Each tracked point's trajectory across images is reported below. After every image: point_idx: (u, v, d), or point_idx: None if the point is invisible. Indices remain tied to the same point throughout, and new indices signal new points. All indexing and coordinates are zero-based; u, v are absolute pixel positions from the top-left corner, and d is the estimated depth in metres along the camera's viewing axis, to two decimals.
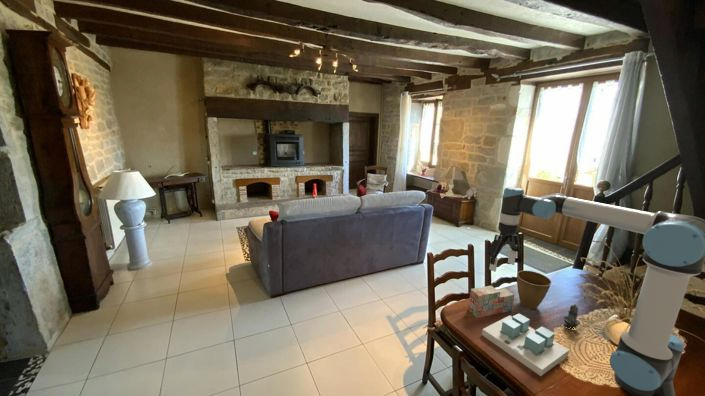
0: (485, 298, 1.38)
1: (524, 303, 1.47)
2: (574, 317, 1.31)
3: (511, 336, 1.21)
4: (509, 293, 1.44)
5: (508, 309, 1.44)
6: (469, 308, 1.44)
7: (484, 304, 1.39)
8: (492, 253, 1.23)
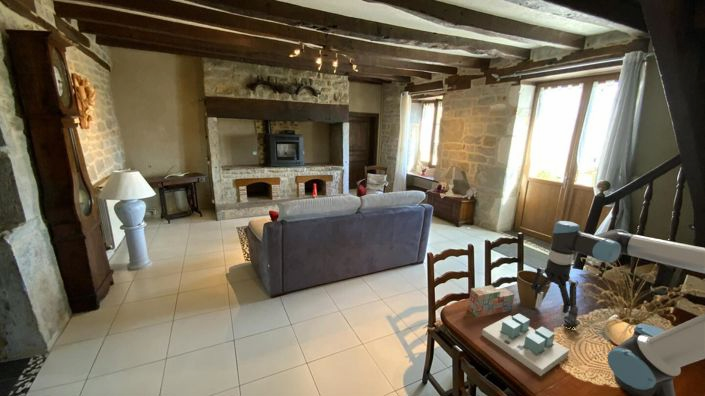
0: (485, 298, 1.38)
1: (524, 303, 1.47)
2: (574, 317, 1.31)
3: (511, 336, 1.21)
4: (509, 293, 1.44)
5: (508, 309, 1.44)
6: (469, 308, 1.44)
7: (484, 304, 1.39)
8: None
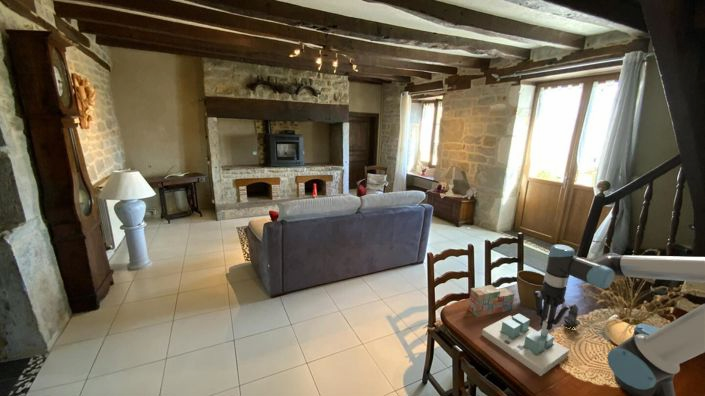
0: (485, 298, 1.39)
1: (524, 303, 1.47)
2: (574, 317, 1.31)
3: (511, 336, 1.21)
4: (509, 292, 1.45)
5: (508, 308, 1.45)
6: (469, 307, 1.45)
7: (485, 304, 1.40)
8: None
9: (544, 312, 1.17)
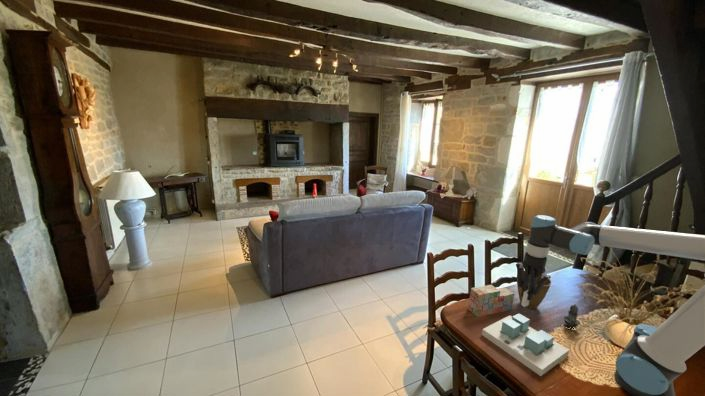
0: (485, 297, 1.39)
1: None
2: (574, 317, 1.31)
3: (511, 336, 1.21)
4: (509, 292, 1.45)
5: (508, 308, 1.45)
6: (469, 307, 1.45)
7: (485, 303, 1.40)
8: None
9: (525, 283, 1.18)
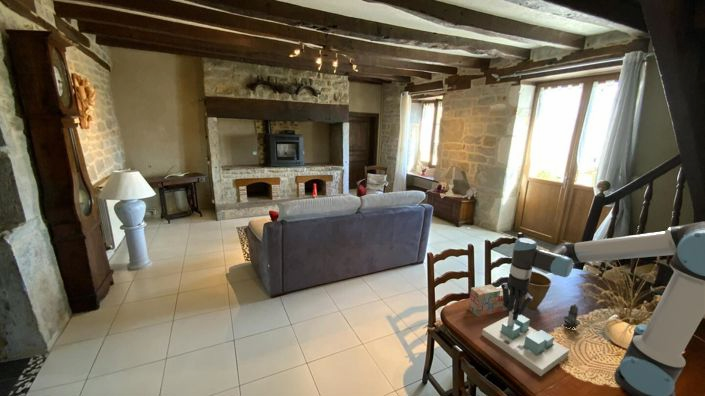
0: (485, 297, 1.39)
1: None
2: (574, 317, 1.31)
3: (511, 338, 1.22)
4: (509, 292, 1.45)
5: None
6: (469, 307, 1.45)
7: (485, 303, 1.40)
8: None
9: (510, 303, 1.22)
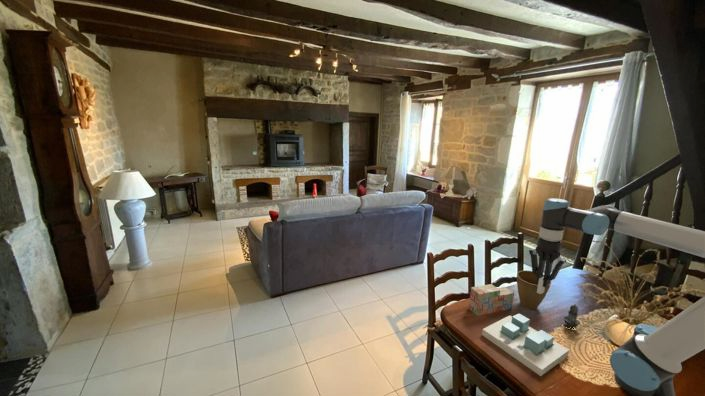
0: (485, 297, 1.40)
1: (524, 303, 1.47)
2: (574, 317, 1.31)
3: None
4: (509, 291, 1.45)
5: (508, 307, 1.46)
6: (469, 306, 1.45)
7: (485, 303, 1.40)
8: None
9: (540, 269, 1.15)
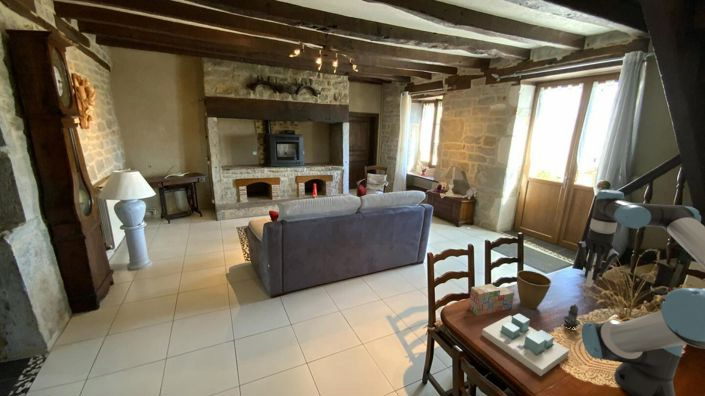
0: (485, 296, 1.40)
1: (524, 303, 1.47)
2: (574, 317, 1.31)
3: None
4: (509, 291, 1.46)
5: (508, 307, 1.46)
6: (470, 306, 1.46)
7: (485, 302, 1.41)
8: None
9: (589, 262, 1.13)
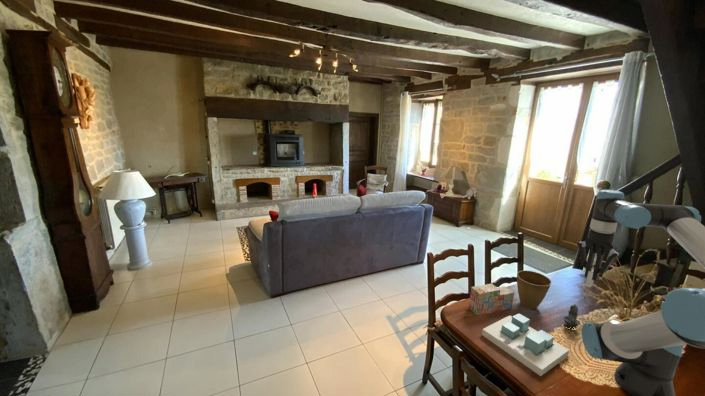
0: (486, 296, 1.40)
1: (524, 303, 1.47)
2: (574, 317, 1.31)
3: None
4: (509, 291, 1.46)
5: (508, 307, 1.46)
6: (470, 306, 1.46)
7: (485, 302, 1.41)
8: None
9: (589, 262, 1.13)
